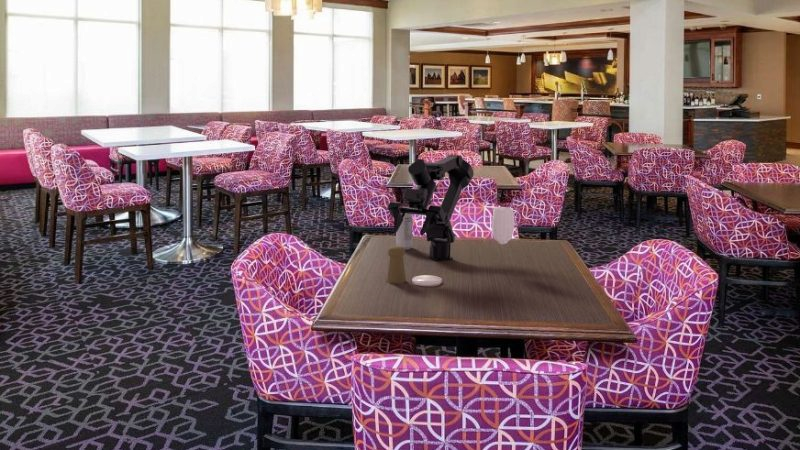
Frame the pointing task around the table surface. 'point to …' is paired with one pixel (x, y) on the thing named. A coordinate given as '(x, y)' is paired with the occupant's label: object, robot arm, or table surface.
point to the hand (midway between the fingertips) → (407, 233)
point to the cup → (503, 224)
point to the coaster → (427, 280)
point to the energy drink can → (405, 233)
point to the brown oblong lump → (396, 265)
